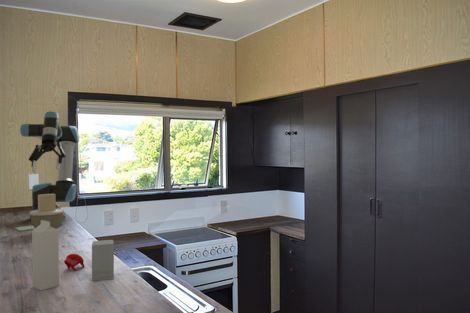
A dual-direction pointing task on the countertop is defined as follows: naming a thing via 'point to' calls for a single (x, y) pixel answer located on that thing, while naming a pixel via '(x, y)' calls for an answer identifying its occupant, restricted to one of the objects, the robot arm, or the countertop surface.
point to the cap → (73, 261)
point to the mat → (25, 228)
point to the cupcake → (62, 217)
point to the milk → (45, 256)
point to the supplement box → (102, 260)
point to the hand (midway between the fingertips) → (45, 170)
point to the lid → (46, 206)
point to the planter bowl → (53, 219)
